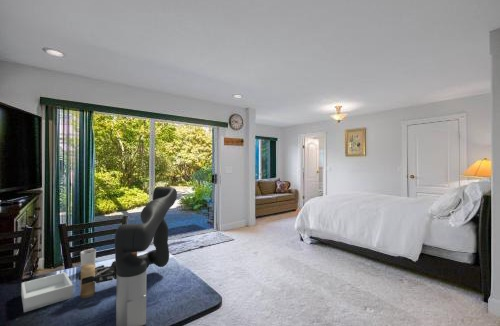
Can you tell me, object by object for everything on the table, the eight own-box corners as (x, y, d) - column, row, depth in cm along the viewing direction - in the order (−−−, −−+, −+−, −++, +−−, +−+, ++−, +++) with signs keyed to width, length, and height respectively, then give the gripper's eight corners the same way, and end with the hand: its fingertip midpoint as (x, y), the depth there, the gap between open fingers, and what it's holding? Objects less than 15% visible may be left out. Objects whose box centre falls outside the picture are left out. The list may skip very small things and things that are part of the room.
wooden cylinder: (96, 294, 100) (96, 265, 101) (81, 299, 97) (82, 269, 97) (93, 290, 104) (93, 262, 104) (79, 295, 100) (79, 265, 101)
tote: (72, 297, 99) (73, 284, 99) (23, 312, 88) (24, 298, 88) (65, 283, 111) (65, 272, 111) (21, 295, 100) (21, 282, 101)
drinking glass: (98, 268, 127) (99, 249, 127) (89, 273, 121) (89, 253, 121) (87, 267, 128) (87, 248, 128) (76, 273, 121) (77, 253, 122)
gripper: (119, 255, 116) (76, 265, 104) (130, 263, 106) (84, 275, 94) (119, 271, 116) (76, 283, 104) (130, 280, 106) (84, 295, 94)
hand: (80, 279), depth 99 cm, fingers closed on wooden cylinder, 5 cm apart
